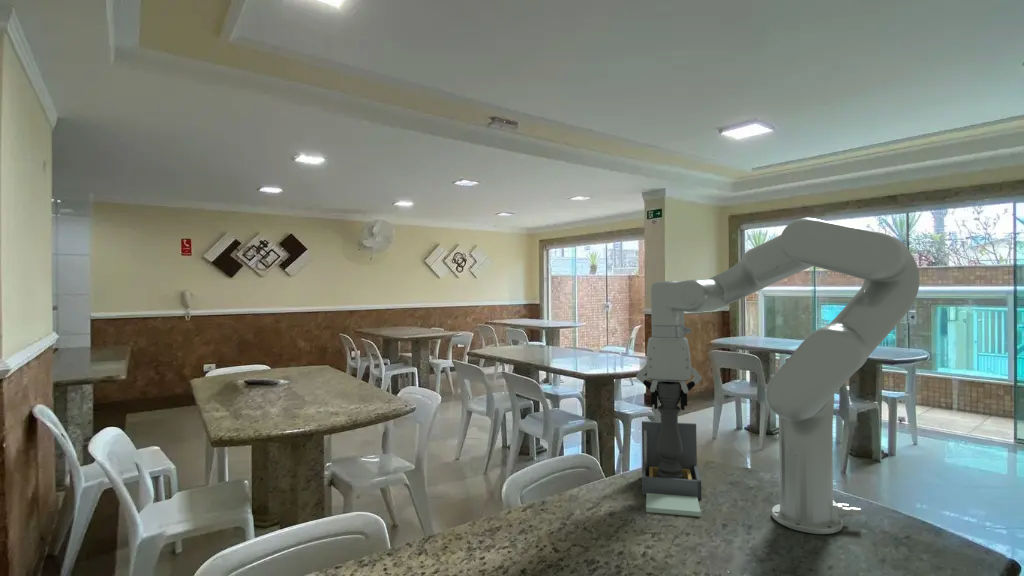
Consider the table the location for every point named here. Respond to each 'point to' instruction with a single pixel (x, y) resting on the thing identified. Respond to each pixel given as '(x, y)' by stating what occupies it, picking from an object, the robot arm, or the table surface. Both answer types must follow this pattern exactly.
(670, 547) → the table surface
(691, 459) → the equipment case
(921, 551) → the table surface
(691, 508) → the sage pad
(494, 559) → the table surface
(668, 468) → the candle holder
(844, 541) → the table surface
